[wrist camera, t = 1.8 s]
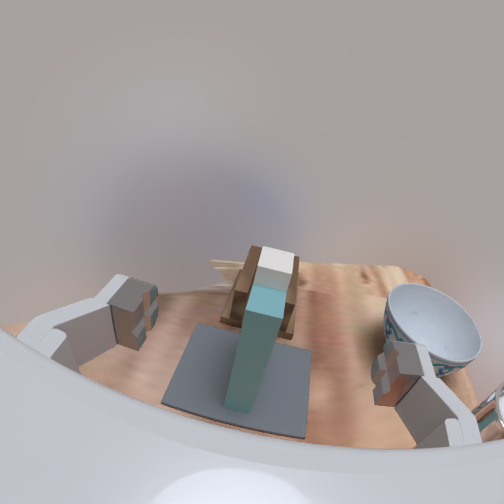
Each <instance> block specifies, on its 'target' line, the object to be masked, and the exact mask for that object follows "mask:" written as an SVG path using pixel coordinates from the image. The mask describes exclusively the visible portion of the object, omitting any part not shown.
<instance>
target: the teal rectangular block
mask: <svg viewBox="0 0 504 504" xmlns="http://www.w3.org/2000/svg"><path fill="white" fill-rule="evenodd" d="M293 261H294V254H293V253H290V252H286V251H282V250H278V249H274V248H270V247H266V246H264V247H263V249H262V252H261V256H260V259H259V262H258V265H257V270H256V274H255V279H254V283H253V287H252V290H251V293H250V296H249V300H248V303H247V306H246V310H245V314H244V319H243V323H242V328H241V332H240V337H239V341H238V345H237V350H236V354H235V359H234V363H233V368H232V372H231V376H230V381H229V385H228V390H227V394H226V398H225V403H224V408H228V409H232V410H236V411H240V412H244V413H248V414H249V412H250V410H251V407H252V404H253V402H254V399H255V396H256V394H257V391H258V388H259V385H260V383H261V380H262V377H263V375H264V372H265V369H266V366H267V363H268V361H269V358H270V355H271V352H272V349H273V346H274V343H275V341H276V338H277V335H278V332H279V329H280V326H281V323H282V320H283V315H284V307H285V300H286V293H287V289H288V286H289V283H290V279H291V276H292V270H293Z"/></svg>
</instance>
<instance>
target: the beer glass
mask: <svg viewBox="0 0 504 504" xmlns="http://www.w3.org/2000/svg"><path fill="white" fill-rule="evenodd" d="M471 412H472V414H473V415H474V416H475V417H476V420H477V424H478V428H479V431H480V435H481V439H482V443H483V442H490V441H495V440H501V439H504V382H503V383H501V385H500V386H499V387H498V388H497V389H496V390H495V391H494V392H493V393H491V394H490V395H489V396H488V397H487V398H486V399H484V400H483V401H482V402H481V403H480V404H479V405H478V406H476V407H475V408H474V409H473V410H472V411H471Z"/></svg>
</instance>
